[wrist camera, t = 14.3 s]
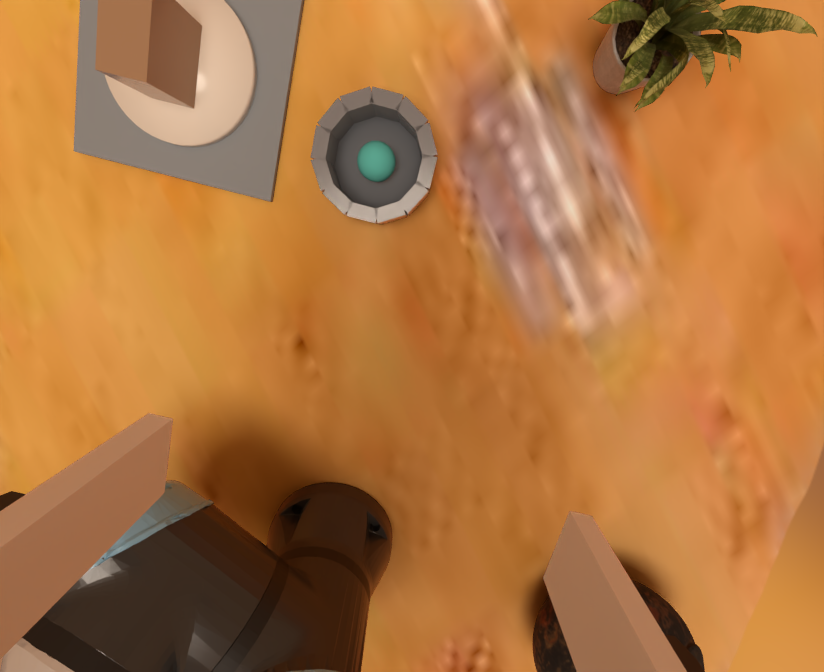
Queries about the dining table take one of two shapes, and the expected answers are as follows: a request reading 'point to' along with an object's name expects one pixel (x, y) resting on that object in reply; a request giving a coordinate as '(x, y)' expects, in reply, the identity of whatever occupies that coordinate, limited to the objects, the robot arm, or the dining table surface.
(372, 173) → the ball
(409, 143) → the bowl
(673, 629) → the black vase
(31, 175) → the dining table surface
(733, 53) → the house plant
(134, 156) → the mat
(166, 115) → the lid
